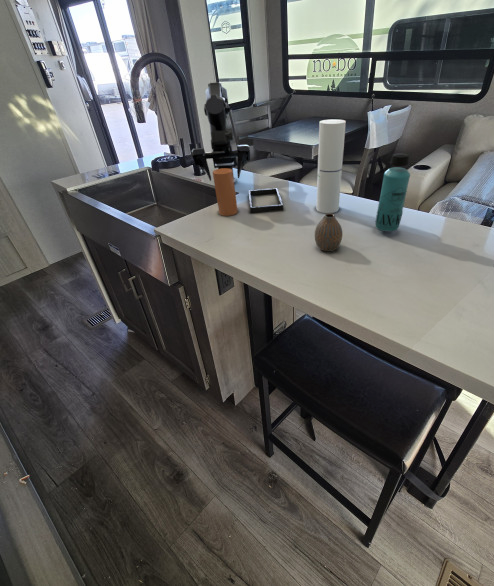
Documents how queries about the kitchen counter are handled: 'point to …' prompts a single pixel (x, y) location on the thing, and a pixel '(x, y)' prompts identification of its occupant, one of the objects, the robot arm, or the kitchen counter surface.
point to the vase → (328, 233)
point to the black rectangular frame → (265, 208)
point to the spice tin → (225, 191)
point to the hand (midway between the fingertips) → (224, 178)
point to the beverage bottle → (393, 194)
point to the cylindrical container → (330, 164)
